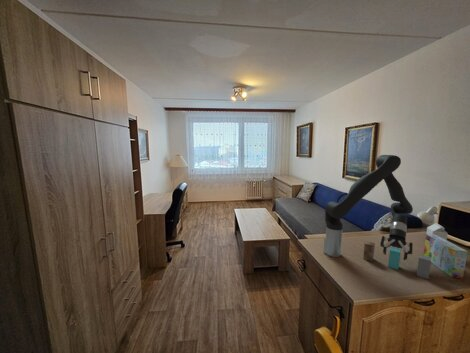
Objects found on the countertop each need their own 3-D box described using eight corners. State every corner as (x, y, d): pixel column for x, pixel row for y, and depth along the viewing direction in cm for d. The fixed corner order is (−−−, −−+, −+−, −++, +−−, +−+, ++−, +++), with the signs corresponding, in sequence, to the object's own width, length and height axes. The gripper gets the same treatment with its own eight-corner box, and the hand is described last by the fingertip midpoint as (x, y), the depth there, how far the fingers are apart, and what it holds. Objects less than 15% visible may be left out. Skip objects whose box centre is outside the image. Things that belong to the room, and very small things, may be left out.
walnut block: (363, 258, 120) (364, 243, 119) (364, 256, 124) (366, 240, 122) (372, 261, 117) (373, 245, 116) (373, 258, 121) (374, 243, 119)
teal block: (388, 266, 112) (389, 250, 111) (388, 263, 116) (390, 247, 114) (398, 269, 109) (400, 252, 108) (398, 266, 113) (400, 249, 111)
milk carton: (429, 253, 126) (433, 225, 124) (424, 248, 133) (427, 221, 131) (444, 256, 124) (448, 226, 121) (438, 250, 130) (442, 222, 128)
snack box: (464, 279, 102) (469, 251, 100) (451, 277, 103) (455, 250, 101) (432, 257, 122) (435, 234, 120) (422, 256, 123) (425, 233, 121)
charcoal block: (416, 275, 104) (419, 257, 103) (416, 271, 108) (418, 254, 106) (428, 279, 101) (431, 260, 100) (428, 275, 105) (430, 257, 103)
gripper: (383, 225, 121) (378, 249, 114) (414, 231, 111) (411, 258, 104) (383, 231, 125) (379, 255, 119) (413, 237, 116) (410, 264, 109)
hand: (394, 256), depth 112 cm, fingers open, 8 cm apart
